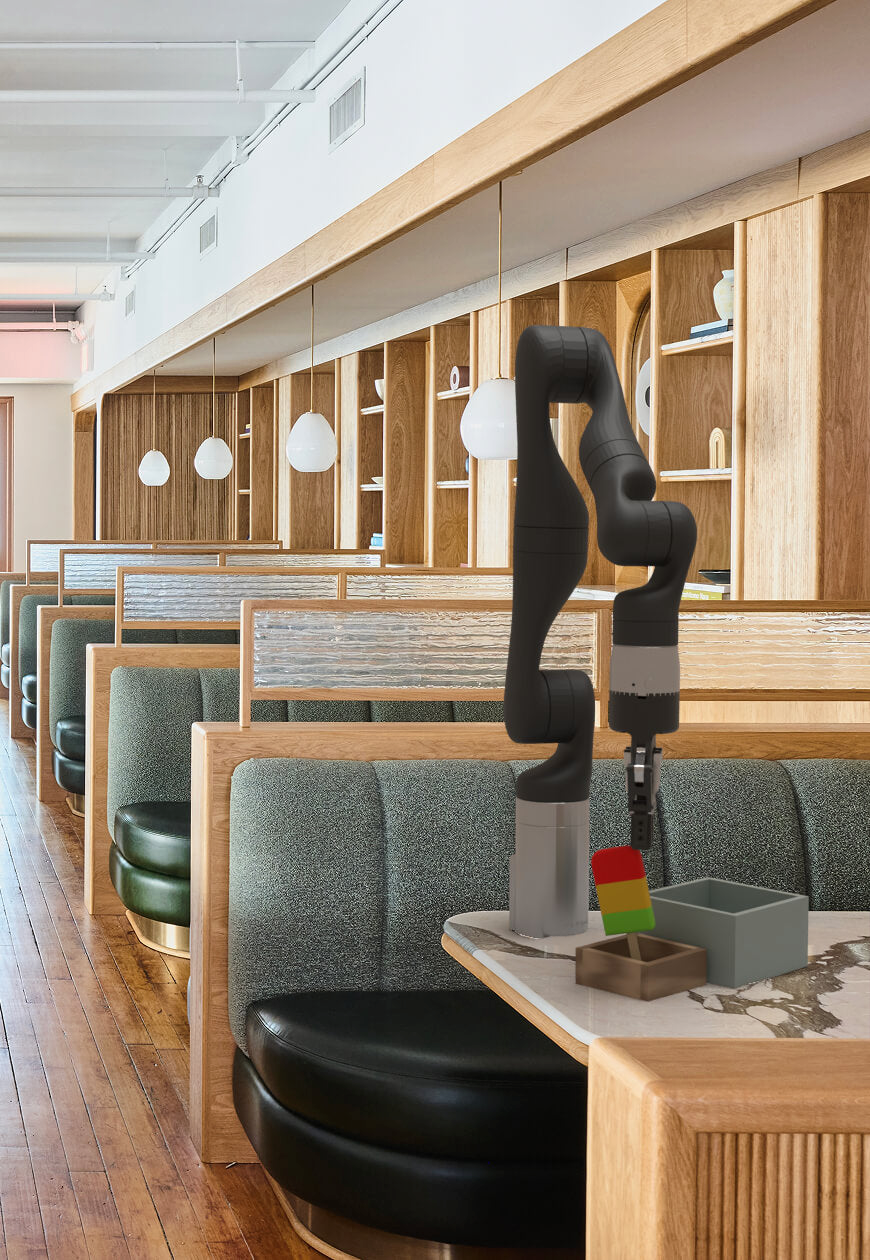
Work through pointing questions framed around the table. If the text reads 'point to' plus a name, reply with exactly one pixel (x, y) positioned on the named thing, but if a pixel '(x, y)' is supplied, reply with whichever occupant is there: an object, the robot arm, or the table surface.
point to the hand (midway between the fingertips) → (641, 845)
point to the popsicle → (623, 893)
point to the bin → (735, 928)
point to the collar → (641, 967)
